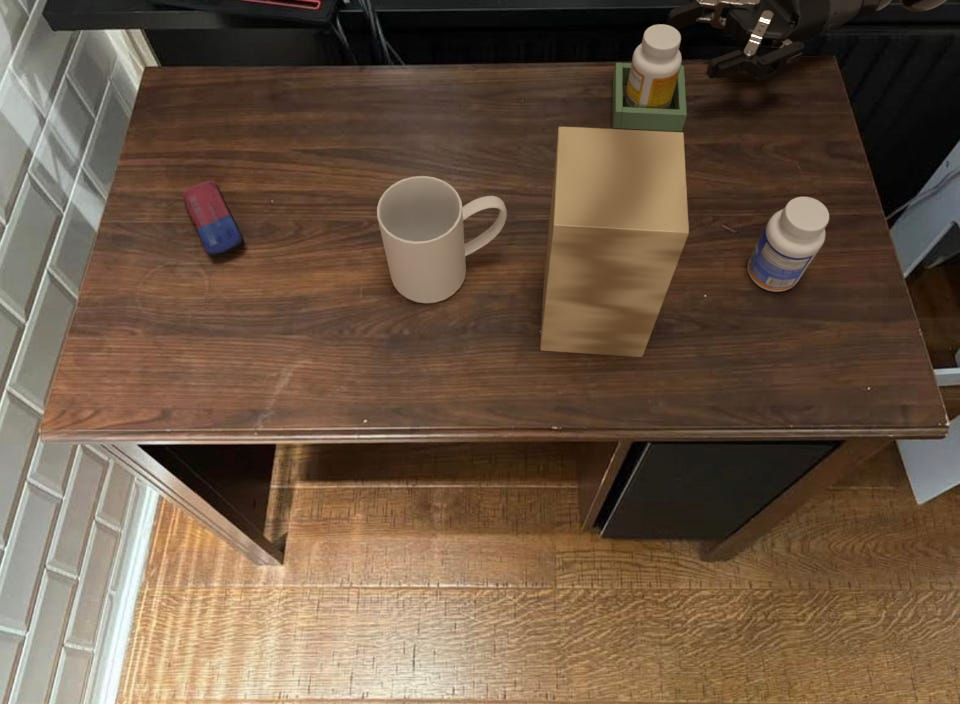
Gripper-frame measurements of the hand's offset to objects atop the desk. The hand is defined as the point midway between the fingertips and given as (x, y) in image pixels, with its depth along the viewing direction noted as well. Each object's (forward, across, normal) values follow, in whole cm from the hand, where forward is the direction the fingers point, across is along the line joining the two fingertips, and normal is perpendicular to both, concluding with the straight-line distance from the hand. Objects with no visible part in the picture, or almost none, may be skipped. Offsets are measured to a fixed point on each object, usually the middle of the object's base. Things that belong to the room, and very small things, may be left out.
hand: (688, 46), depth 83 cm
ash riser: (+24, +22, +7) cm, 33 cm away
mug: (+35, +11, +7) cm, 37 cm away
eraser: (+55, -5, +7) cm, 56 cm away
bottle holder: (+4, 0, +7) cm, 8 cm away
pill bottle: (+4, +26, +7) cm, 27 cm away
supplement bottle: (+4, 0, +7) cm, 8 cm away
